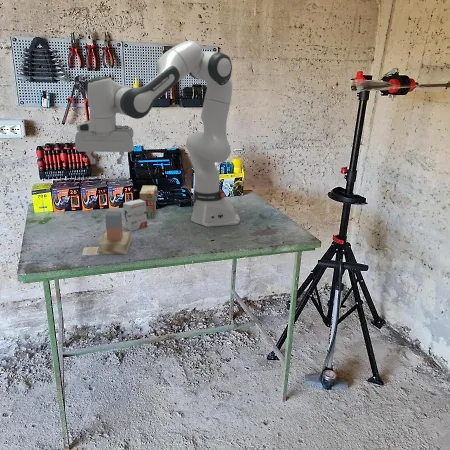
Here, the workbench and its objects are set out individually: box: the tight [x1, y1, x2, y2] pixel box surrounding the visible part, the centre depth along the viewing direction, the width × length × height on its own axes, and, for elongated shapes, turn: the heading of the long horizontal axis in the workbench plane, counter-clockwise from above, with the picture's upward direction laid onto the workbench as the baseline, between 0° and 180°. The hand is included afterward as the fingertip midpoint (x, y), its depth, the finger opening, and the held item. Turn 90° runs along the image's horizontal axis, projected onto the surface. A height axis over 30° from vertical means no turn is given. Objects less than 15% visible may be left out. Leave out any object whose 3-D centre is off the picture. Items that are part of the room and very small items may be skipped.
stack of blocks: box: [139, 185, 159, 219], centre depth 199 cm, size 21×6×12 cm, turn 4°
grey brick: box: [104, 210, 123, 229], centre depth 156 cm, size 5×5×5 cm
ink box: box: [122, 198, 148, 232], centre depth 178 cm, size 9×5×12 cm, turn 134°
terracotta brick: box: [105, 224, 124, 241], centre depth 158 cm, size 5×5×5 cm
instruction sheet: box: [81, 246, 101, 257], centre depth 157 cm, size 9×7×1 cm
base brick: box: [98, 231, 132, 255], centre depth 160 cm, size 10×12×4 cm
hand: (106, 163), depth 152 cm, fingers open, 8 cm apart
